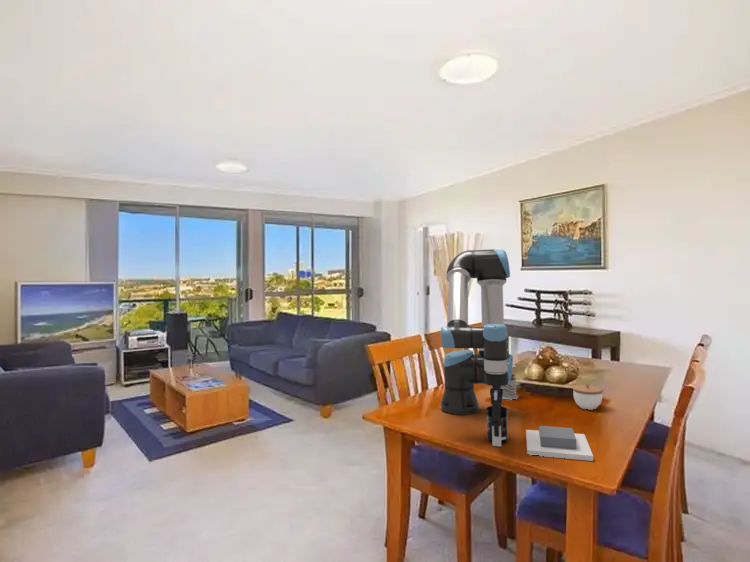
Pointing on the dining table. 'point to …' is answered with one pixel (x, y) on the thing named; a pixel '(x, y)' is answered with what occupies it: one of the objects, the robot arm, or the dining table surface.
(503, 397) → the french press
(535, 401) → the dining table surface
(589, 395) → the lidded jar
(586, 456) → the build base
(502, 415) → the supplement container
